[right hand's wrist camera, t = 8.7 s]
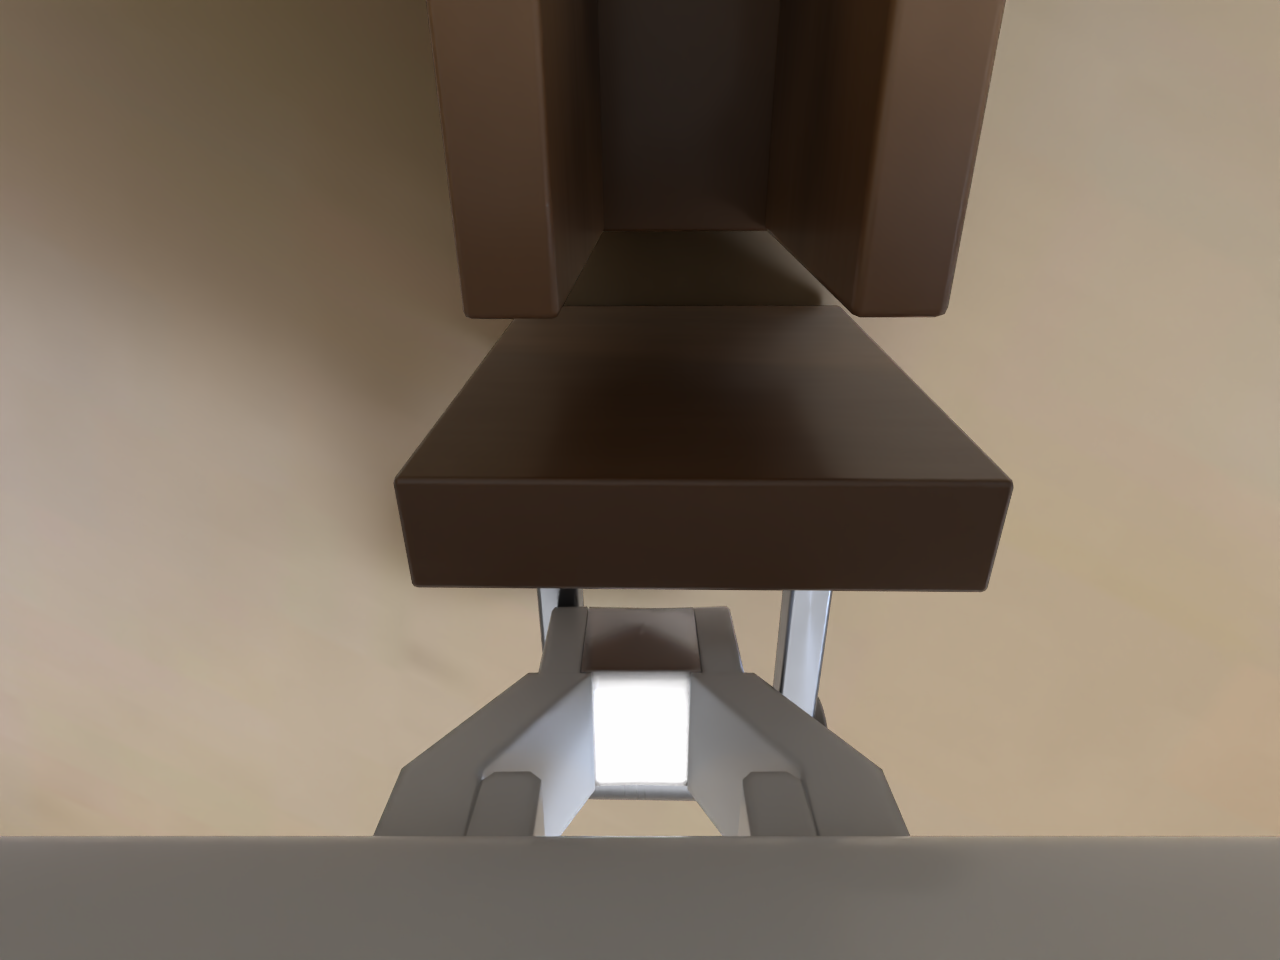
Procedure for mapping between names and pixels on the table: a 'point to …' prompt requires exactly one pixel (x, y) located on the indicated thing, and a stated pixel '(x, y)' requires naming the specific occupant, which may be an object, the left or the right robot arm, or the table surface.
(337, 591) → the table surface
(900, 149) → the drawer
